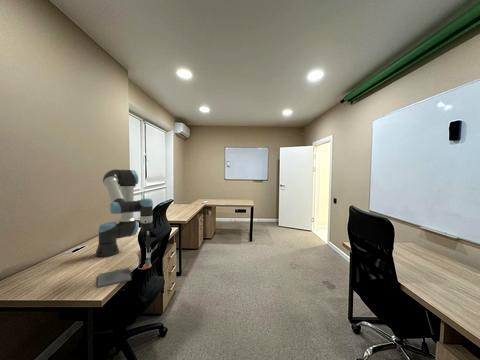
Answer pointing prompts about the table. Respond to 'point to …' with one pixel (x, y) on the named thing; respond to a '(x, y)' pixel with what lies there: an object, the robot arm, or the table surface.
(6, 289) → the table surface
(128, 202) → the robot arm
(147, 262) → the mug
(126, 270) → the slate board
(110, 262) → the table surface
